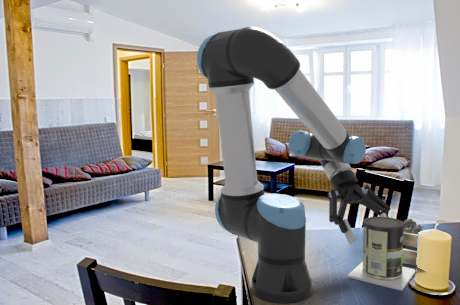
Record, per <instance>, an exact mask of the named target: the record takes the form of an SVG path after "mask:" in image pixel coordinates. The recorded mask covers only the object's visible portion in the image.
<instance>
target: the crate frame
mask: <svg viewBox="0 0 460 305" xmlns="http://www.w3.org/2000/svg"><path fill="white" fill-rule="evenodd" d="M418 235H419V234H411V233H405V232H403V247H404V246H405V247H410V248H411V247H412V248H416V249H418V248H417V239H418ZM417 251H418V250H413V249H409V248H403V259H402V264H406V265H410V266H413V267H414V266H415V267H417V266H416V257H417Z"/></svg>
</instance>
